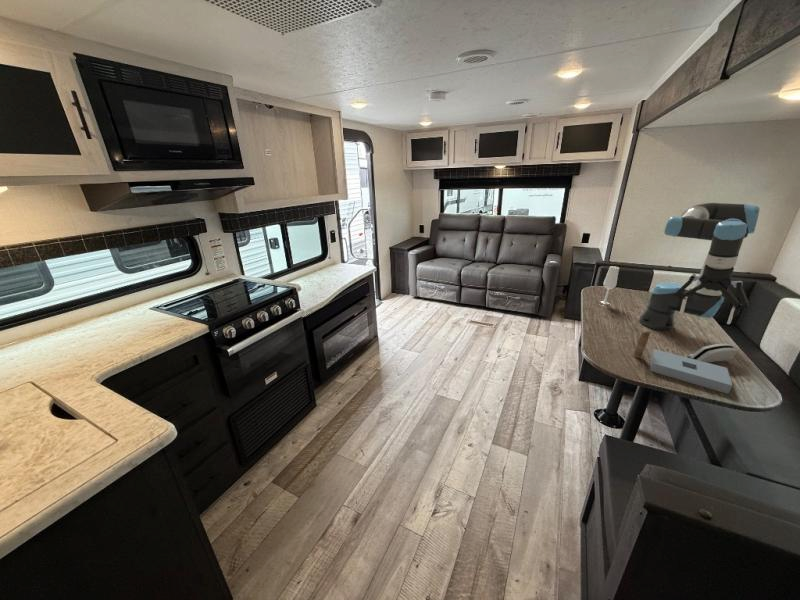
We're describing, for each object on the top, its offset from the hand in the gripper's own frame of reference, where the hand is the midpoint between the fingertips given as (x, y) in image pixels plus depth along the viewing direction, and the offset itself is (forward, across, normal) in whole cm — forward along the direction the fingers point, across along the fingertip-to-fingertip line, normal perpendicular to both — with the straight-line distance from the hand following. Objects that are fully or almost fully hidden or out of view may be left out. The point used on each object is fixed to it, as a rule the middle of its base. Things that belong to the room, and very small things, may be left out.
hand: (704, 317), depth 121 cm
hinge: (+30, +4, +19) cm, 36 cm away
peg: (+25, -18, -2) cm, 31 cm away
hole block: (+27, 0, -1) cm, 27 cm away
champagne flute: (+30, -51, +50) cm, 77 cm away
